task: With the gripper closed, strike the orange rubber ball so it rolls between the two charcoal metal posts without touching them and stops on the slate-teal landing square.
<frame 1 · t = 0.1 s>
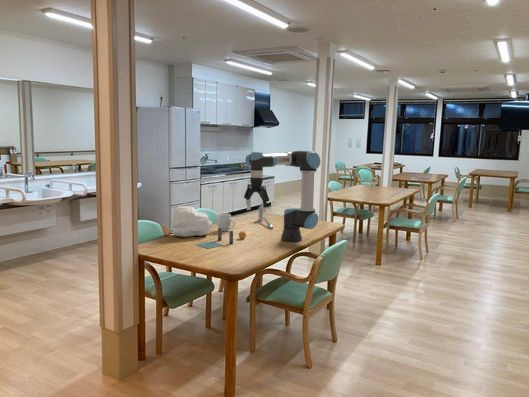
hand: (256, 211, 274), 28 cm above the table, tool pointing down, fingers open, 13 cm apart
ball: (242, 234, 321), on the table
hammer: (266, 225, 376), on the table
sculpture: (192, 235, 332), on the table
mug: (225, 231, 348), on the table
post 1: (219, 240, 315), on the table
post 2: (231, 243, 306), on the table
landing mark: (209, 245, 301), on the table
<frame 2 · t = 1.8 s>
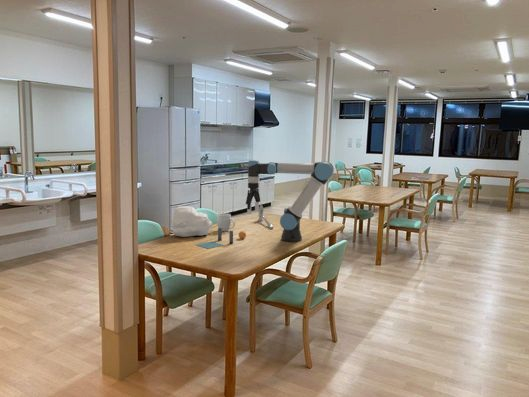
hand: (253, 212, 311), 21 cm above the table, tool pointing down, fingers open, 13 cm apart
nothing on the table moved.
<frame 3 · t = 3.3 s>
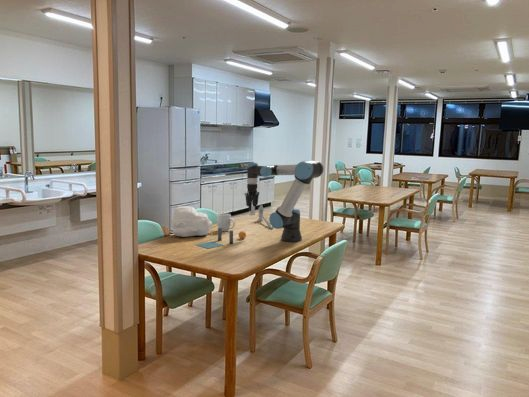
hand: (251, 215, 326), 16 cm above the table, tool pointing down, fingers closed
nothing on the table moved.
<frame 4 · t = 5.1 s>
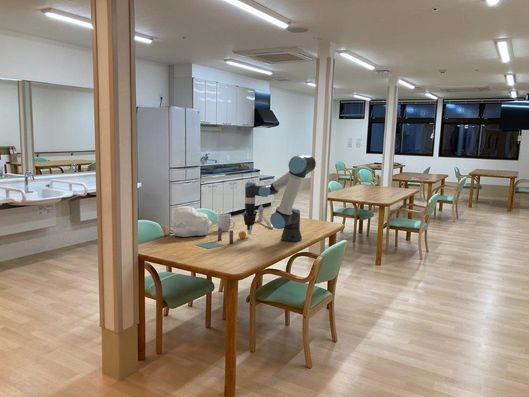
hand: (249, 234, 327), 2 cm above the table, tool pointing down, fingers closed
nothing on the table moved.
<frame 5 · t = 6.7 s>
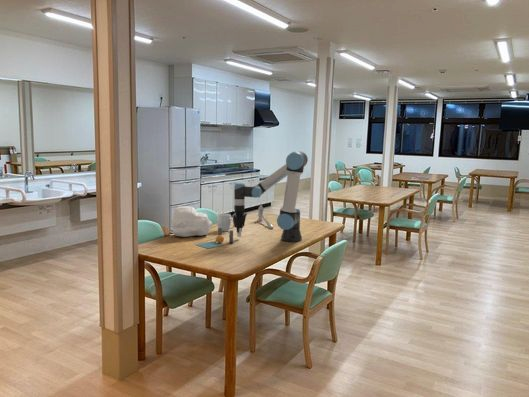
hand: (239, 236, 319), 2 cm above the table, tool pointing down, fingers closed
ball: (220, 239, 307), on the table
everything else where it was.
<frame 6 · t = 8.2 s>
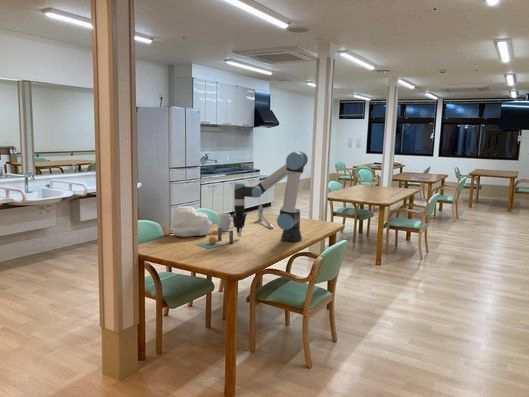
hand: (239, 236, 319), 2 cm above the table, tool pointing down, fingers closed
ball: (212, 240, 303), on the table
everything else where it was.
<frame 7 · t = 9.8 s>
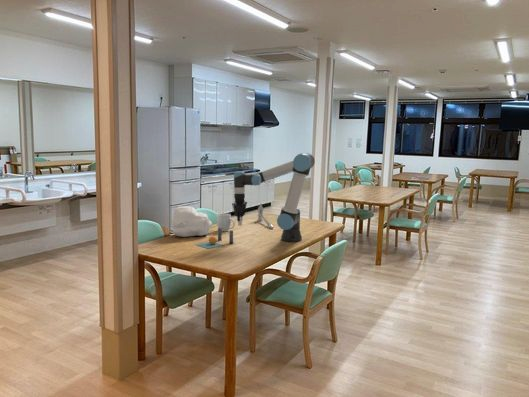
hand: (239, 225, 318), 10 cm above the table, tool pointing down, fingers closed
nothing on the table moved.
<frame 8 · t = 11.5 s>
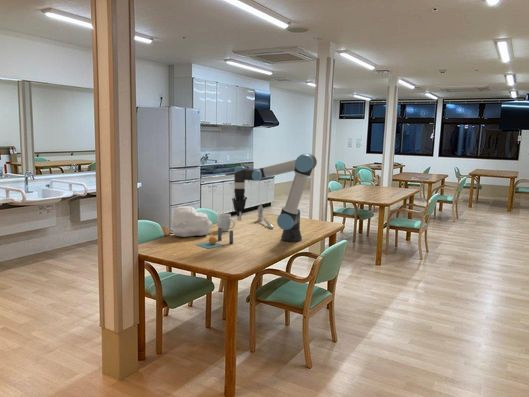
hand: (239, 220, 318), 14 cm above the table, tool pointing down, fingers closed
nothing on the table moved.
at the end: ball 3.2 cm from the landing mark (horizontally); ball never touched post 2; ball never touched post 1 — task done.
